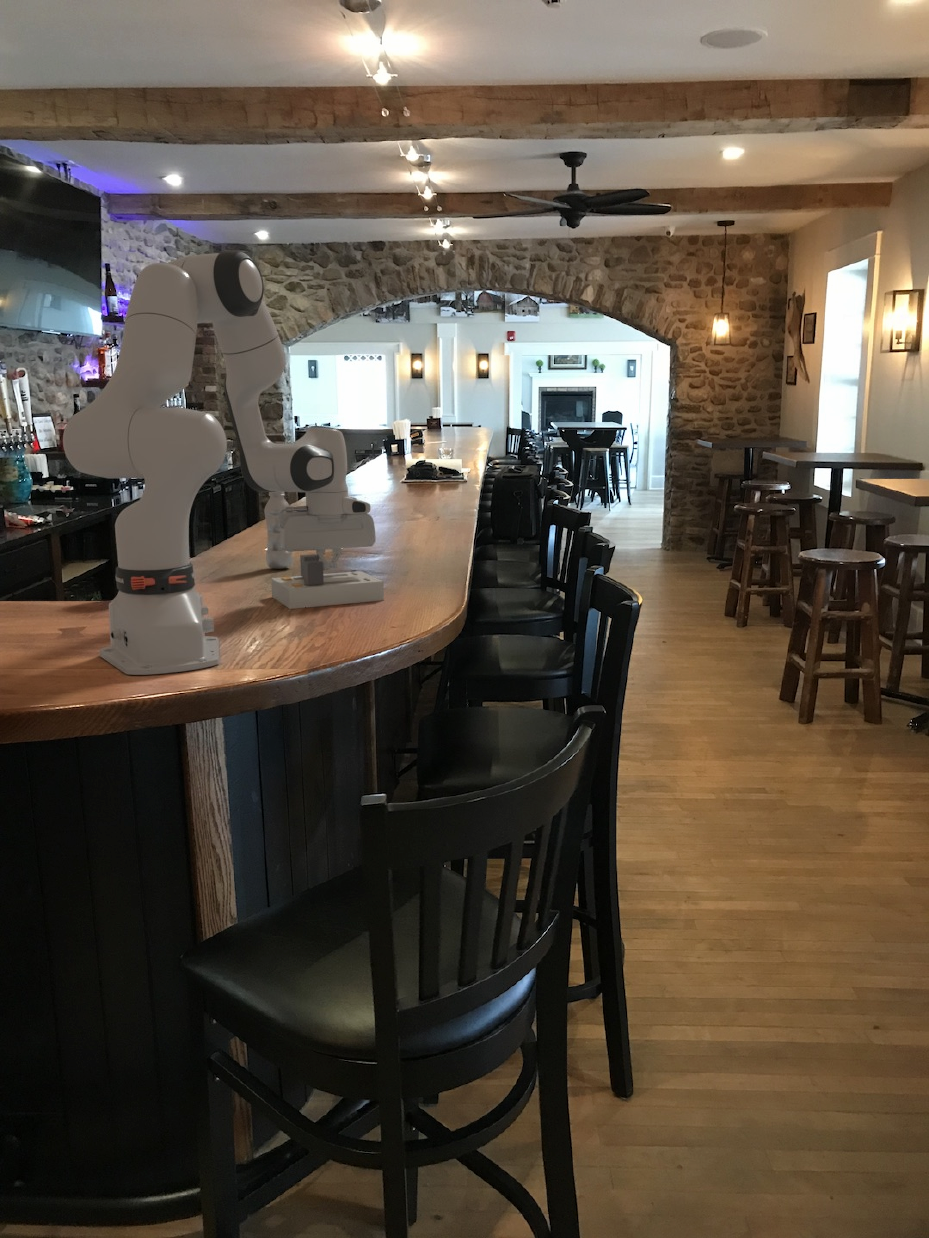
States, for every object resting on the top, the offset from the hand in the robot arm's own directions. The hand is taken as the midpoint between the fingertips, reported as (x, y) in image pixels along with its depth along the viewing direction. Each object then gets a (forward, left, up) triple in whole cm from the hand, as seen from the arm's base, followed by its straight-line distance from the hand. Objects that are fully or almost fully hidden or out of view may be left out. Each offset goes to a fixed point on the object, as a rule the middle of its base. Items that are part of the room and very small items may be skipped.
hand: (329, 570), depth 199 cm
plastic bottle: (+38, +1, -6) cm, 39 cm away
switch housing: (-4, +2, -5) cm, 7 cm away
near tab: (-8, +6, -1) cm, 10 cm away
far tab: (0, +4, -1) cm, 4 cm away
